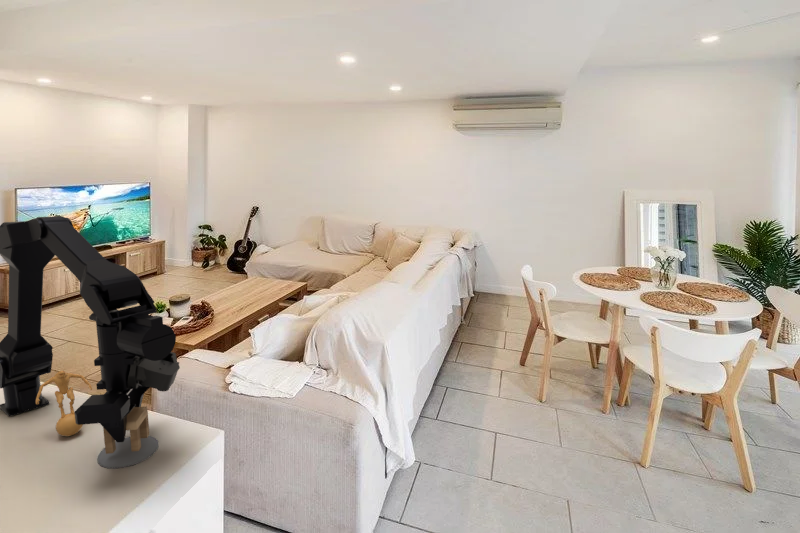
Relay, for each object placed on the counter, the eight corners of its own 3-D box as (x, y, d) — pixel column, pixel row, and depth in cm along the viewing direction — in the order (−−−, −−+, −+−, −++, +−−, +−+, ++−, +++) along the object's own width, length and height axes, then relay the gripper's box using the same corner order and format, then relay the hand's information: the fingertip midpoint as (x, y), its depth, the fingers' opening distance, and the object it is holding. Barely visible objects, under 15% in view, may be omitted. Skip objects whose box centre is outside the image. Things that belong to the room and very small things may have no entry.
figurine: (43, 448, 74) (35, 384, 72) (38, 434, 78) (30, 373, 76) (100, 429, 80) (94, 370, 78) (92, 417, 84) (86, 361, 82)
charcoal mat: (88, 455, 73) (87, 453, 73) (142, 431, 80) (142, 429, 80) (112, 475, 68) (112, 473, 68) (168, 448, 76) (168, 446, 75)
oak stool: (105, 453, 71) (102, 423, 70) (118, 436, 76) (116, 408, 75) (138, 451, 72) (136, 421, 71) (149, 434, 77) (147, 406, 76)
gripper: (152, 368, 63) (159, 462, 66) (187, 328, 81) (191, 403, 84) (67, 372, 61) (78, 469, 64) (123, 330, 79) (129, 407, 82)
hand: (127, 433), depth 74 cm, fingers closed on oak stool, 5 cm apart
